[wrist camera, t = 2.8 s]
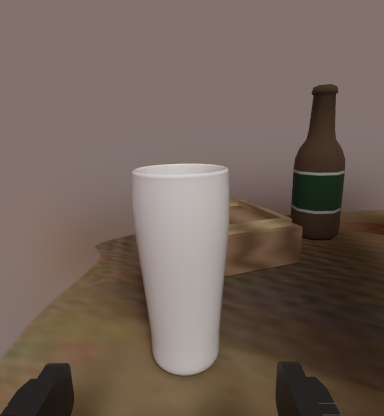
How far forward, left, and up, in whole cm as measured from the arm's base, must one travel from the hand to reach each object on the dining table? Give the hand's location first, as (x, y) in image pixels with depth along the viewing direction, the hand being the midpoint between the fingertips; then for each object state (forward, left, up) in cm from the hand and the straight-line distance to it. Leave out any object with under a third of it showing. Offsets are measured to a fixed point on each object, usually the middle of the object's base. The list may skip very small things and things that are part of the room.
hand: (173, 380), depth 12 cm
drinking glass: (-4, -11, -8) cm, 14 cm away
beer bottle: (-34, -31, -8) cm, 46 cm away
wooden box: (-16, -30, -8) cm, 34 cm away
